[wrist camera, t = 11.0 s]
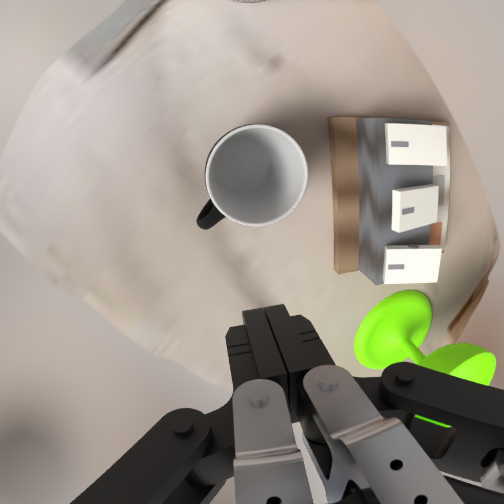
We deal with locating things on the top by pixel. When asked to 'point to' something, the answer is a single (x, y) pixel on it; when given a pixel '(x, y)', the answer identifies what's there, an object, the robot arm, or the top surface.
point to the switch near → (415, 144)
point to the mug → (253, 177)
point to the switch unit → (377, 194)
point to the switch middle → (414, 207)
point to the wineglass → (416, 341)
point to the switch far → (411, 263)
